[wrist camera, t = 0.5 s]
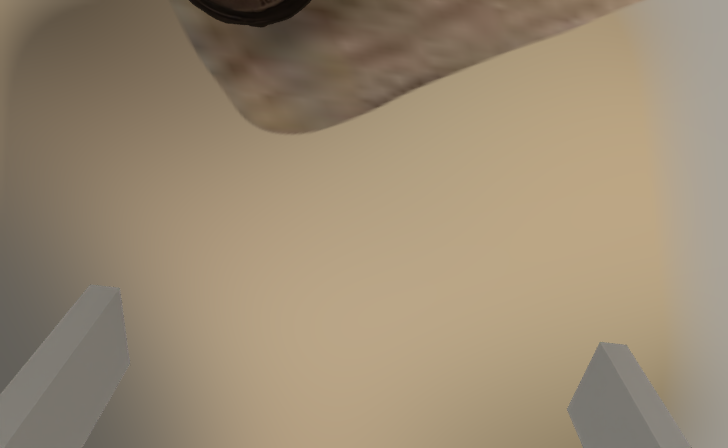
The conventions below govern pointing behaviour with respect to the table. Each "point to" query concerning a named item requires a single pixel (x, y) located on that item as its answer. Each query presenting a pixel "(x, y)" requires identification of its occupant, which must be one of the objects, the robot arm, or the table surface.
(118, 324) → the robot arm
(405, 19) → the table surface
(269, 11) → the coffee cup
